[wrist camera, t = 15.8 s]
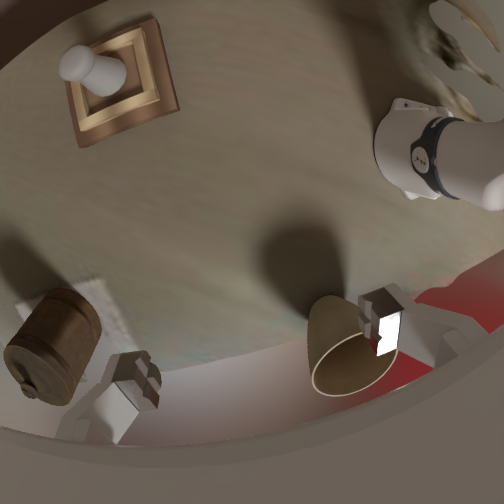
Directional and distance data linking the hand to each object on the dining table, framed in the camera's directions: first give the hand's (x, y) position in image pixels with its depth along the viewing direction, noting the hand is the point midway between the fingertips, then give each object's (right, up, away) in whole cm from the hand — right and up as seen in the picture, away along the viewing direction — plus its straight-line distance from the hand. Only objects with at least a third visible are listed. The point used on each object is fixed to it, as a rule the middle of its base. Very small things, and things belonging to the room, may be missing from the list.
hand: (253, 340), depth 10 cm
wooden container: (-38, -11, +38) cm, 54 cm away
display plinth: (-20, +29, +23) cm, 42 cm away
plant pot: (+14, -8, +43) cm, 46 cm away
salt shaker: (-20, +28, +20) cm, 39 cm away
